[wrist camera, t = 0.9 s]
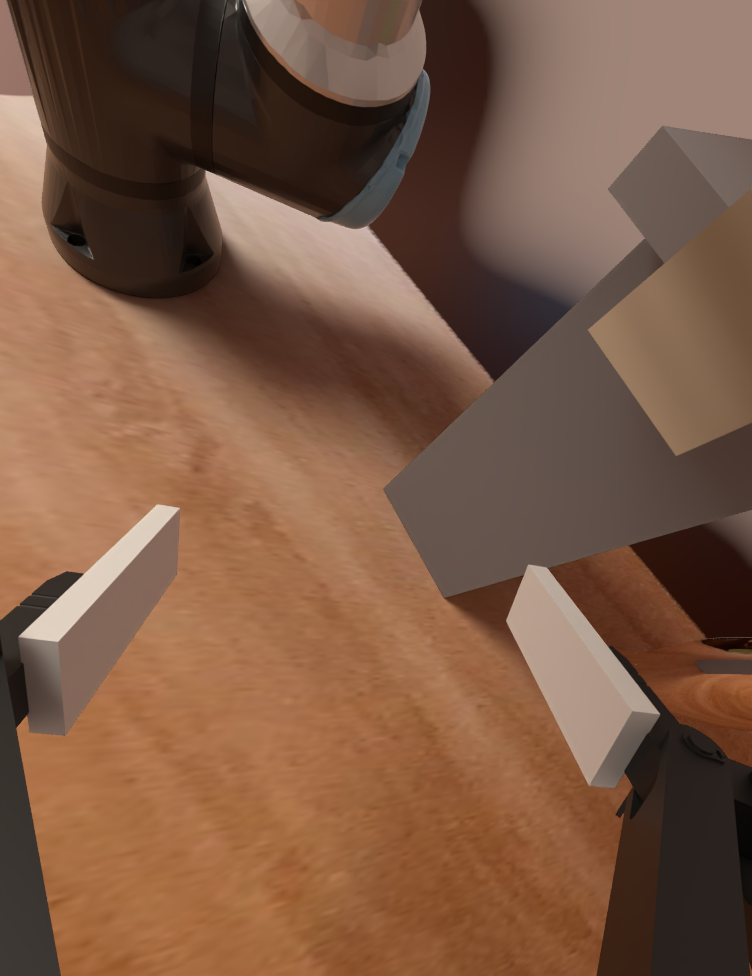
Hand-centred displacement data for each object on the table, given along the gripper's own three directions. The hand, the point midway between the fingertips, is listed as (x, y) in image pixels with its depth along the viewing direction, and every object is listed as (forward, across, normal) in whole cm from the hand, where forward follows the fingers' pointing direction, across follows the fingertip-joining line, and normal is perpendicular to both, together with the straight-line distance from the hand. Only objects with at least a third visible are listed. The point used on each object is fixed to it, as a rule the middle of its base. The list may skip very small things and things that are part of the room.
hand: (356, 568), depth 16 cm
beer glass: (+19, +32, -20) cm, 42 cm away
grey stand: (+24, +11, -9) cm, 28 cm away
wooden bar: (0, +13, +12) cm, 18 cm away
